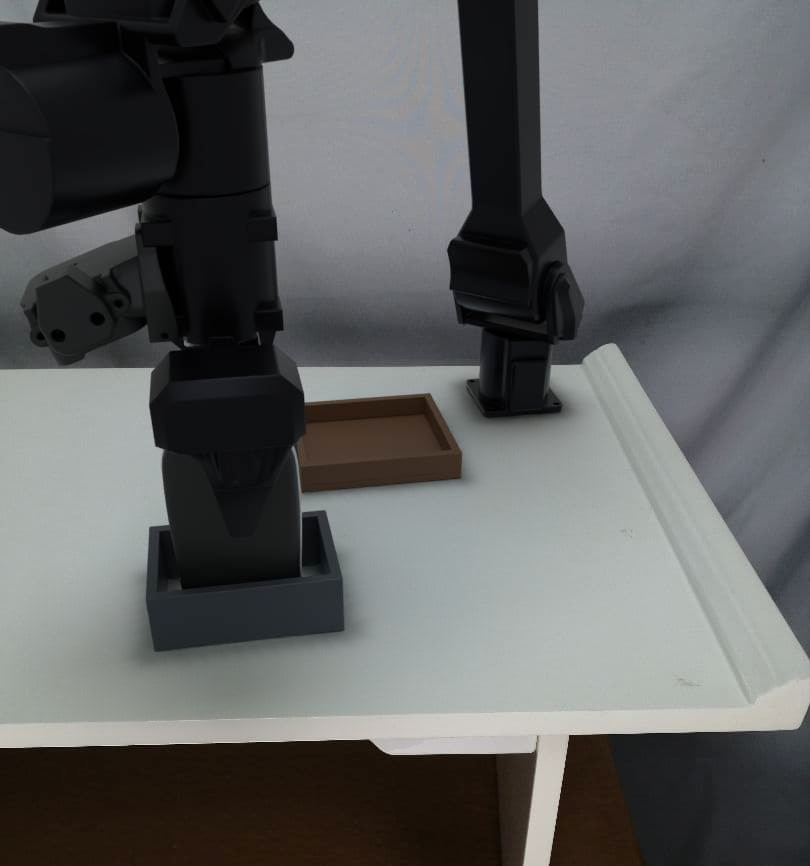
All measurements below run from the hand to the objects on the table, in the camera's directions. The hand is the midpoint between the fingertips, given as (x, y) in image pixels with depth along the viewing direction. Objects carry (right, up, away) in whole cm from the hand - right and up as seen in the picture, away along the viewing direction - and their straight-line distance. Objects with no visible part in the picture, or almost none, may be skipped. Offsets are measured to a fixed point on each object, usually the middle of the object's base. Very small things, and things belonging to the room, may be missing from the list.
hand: (237, 489), depth 50 cm
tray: (+6, +4, +20) cm, 21 cm away
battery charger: (0, -6, +4) cm, 8 cm away
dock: (0, -6, +4) cm, 7 cm away
